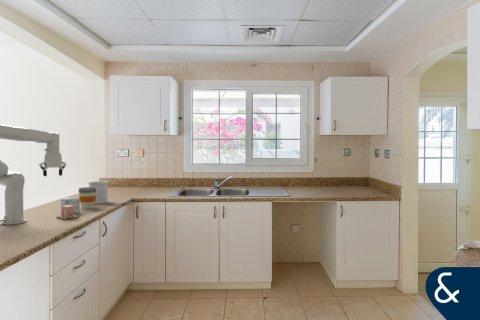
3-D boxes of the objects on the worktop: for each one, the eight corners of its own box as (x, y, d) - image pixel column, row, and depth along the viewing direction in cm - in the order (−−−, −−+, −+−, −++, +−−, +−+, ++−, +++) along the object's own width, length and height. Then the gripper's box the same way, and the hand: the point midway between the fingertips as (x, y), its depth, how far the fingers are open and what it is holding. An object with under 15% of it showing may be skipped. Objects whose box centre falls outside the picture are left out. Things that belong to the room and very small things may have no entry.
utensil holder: (92, 201, 284) (92, 180, 283) (110, 201, 286) (110, 180, 285) (86, 204, 269) (86, 182, 269) (105, 204, 271) (105, 183, 270)
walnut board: (64, 220, 214) (64, 218, 214) (56, 218, 220) (56, 216, 220) (79, 217, 222) (79, 216, 222) (71, 215, 228) (71, 214, 228)
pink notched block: (65, 217, 217) (65, 207, 217) (61, 216, 220) (61, 206, 220) (74, 216, 221) (74, 205, 221) (69, 215, 225) (69, 204, 224)
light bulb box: (75, 211, 243) (75, 196, 242) (80, 212, 238) (80, 197, 238) (60, 213, 234) (60, 198, 234) (64, 214, 230) (64, 199, 230)
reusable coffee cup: (91, 209, 250) (91, 189, 249) (75, 209, 250) (75, 189, 249) (99, 206, 262) (99, 187, 262) (83, 205, 263) (83, 187, 262)
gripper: (41, 150, 216) (41, 176, 216) (68, 151, 229) (68, 175, 230) (36, 150, 220) (36, 176, 221) (63, 150, 234) (63, 174, 234)
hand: (52, 175), depth 225 cm, fingers open, 9 cm apart
